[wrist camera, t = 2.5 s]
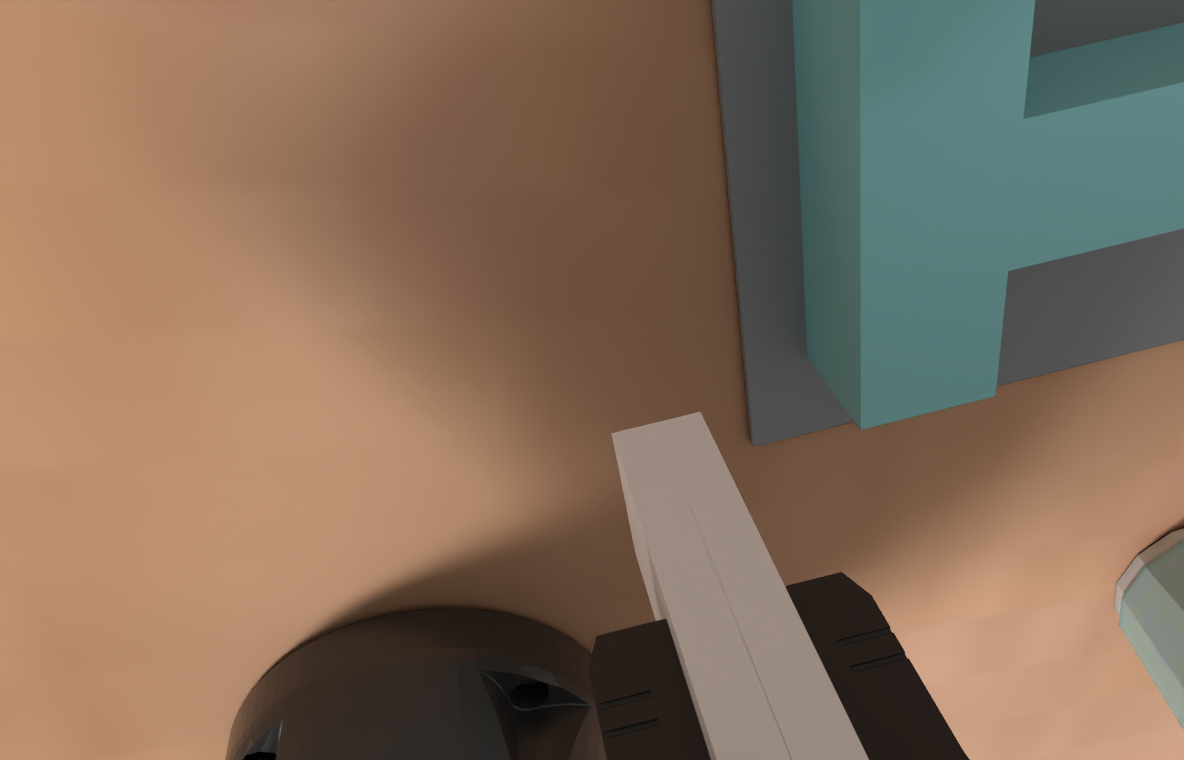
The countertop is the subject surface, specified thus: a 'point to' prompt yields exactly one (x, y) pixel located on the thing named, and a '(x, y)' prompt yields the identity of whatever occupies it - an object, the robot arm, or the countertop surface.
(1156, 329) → the board
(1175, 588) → the disposable coffee cup
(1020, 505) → the countertop surface
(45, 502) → the countertop surface
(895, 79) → the t block
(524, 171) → the countertop surface
